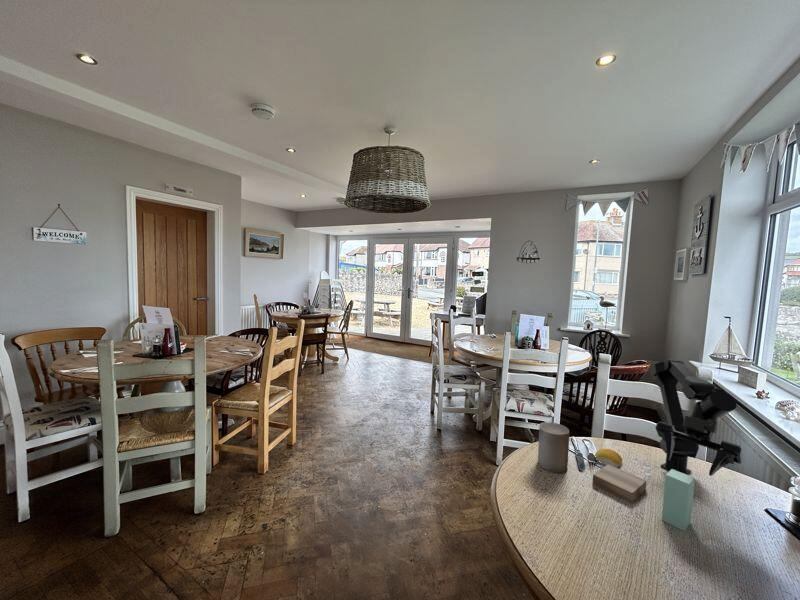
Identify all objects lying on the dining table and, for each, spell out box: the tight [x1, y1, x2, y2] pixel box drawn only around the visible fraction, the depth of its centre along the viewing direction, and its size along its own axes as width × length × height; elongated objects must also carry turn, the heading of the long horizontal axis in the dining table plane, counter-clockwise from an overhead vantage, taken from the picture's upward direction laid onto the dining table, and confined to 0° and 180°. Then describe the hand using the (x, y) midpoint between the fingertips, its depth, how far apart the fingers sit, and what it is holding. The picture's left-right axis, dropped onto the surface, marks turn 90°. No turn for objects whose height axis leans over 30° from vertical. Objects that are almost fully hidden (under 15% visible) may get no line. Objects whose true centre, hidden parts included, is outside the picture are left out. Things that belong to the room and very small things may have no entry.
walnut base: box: [592, 464, 647, 503], centre depth 106 cm, size 11×11×3 cm
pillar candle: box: [537, 421, 570, 474], centre depth 116 cm, size 10×10×15 cm
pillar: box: [661, 469, 696, 532], centre depth 91 cm, size 5×5×13 cm
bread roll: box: [594, 448, 623, 468], centre depth 121 cm, size 8×9×4 cm
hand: (688, 466), depth 94 cm, fingers open, 9 cm apart
